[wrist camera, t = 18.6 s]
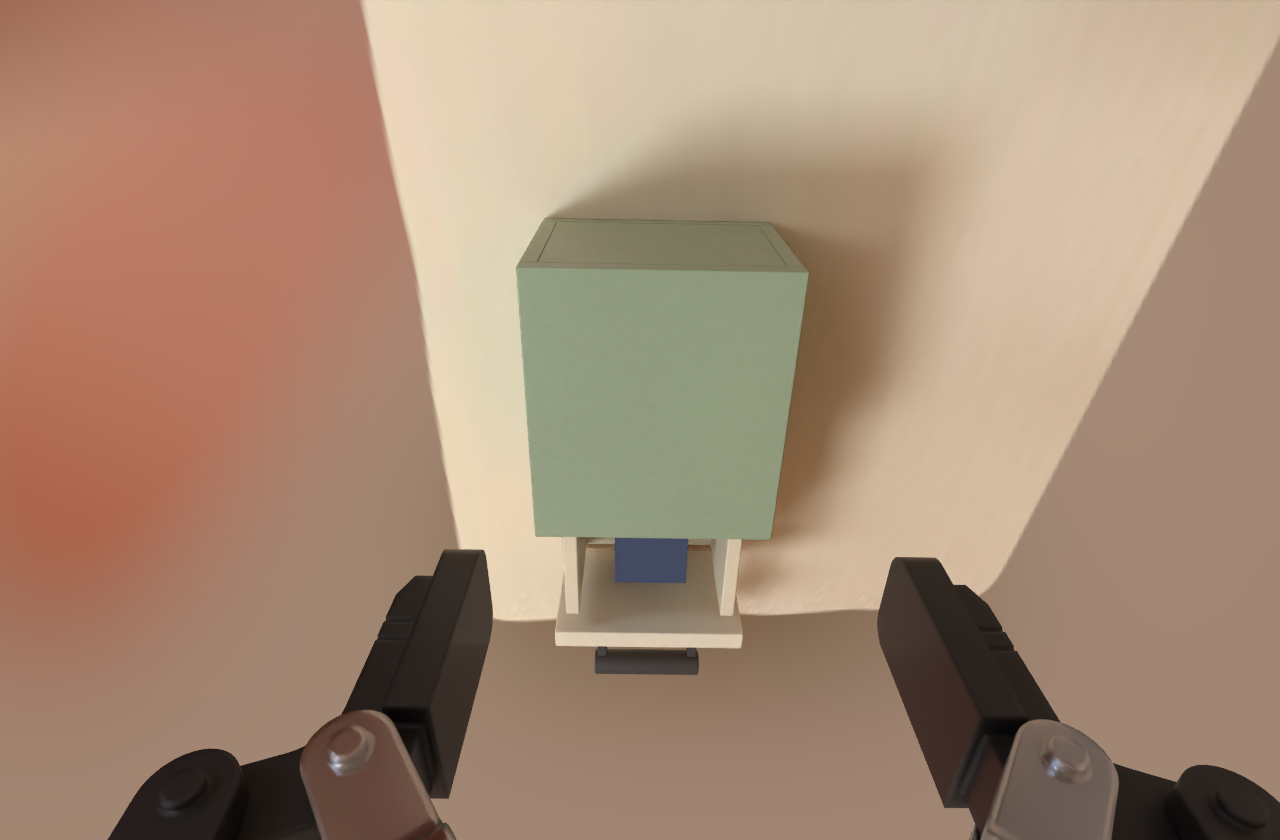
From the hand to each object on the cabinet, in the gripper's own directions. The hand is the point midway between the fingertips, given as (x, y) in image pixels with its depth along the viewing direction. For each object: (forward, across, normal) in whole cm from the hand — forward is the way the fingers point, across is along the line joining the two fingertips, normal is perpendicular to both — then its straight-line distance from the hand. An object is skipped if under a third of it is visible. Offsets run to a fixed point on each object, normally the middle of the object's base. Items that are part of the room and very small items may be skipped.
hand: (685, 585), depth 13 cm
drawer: (+27, 0, +19) cm, 33 cm away
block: (+26, 0, +18) cm, 31 cm away
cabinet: (+28, 0, +6) cm, 28 cm away
